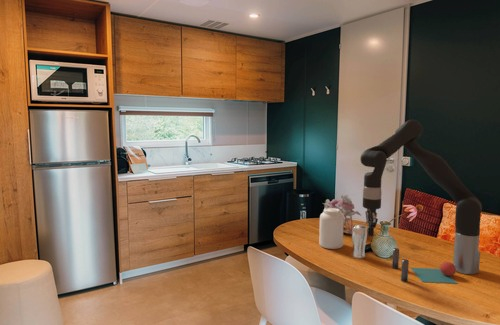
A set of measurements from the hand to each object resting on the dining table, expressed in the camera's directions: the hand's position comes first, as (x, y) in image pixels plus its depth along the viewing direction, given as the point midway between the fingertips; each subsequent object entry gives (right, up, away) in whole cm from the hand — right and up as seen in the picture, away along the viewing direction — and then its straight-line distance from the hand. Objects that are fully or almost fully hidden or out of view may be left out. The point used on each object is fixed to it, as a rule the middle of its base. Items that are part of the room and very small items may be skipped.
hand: (370, 235), depth 155 cm
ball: (+33, -14, -1) cm, 36 cm away
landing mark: (+27, -17, -1) cm, 32 cm away
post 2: (+12, -18, -6) cm, 22 cm away
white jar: (-9, -13, +36) cm, 39 cm away
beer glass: (+1, -15, +21) cm, 26 cm away
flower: (+3, -10, +62) cm, 63 cm away
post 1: (+14, -16, +7) cm, 22 cm away
